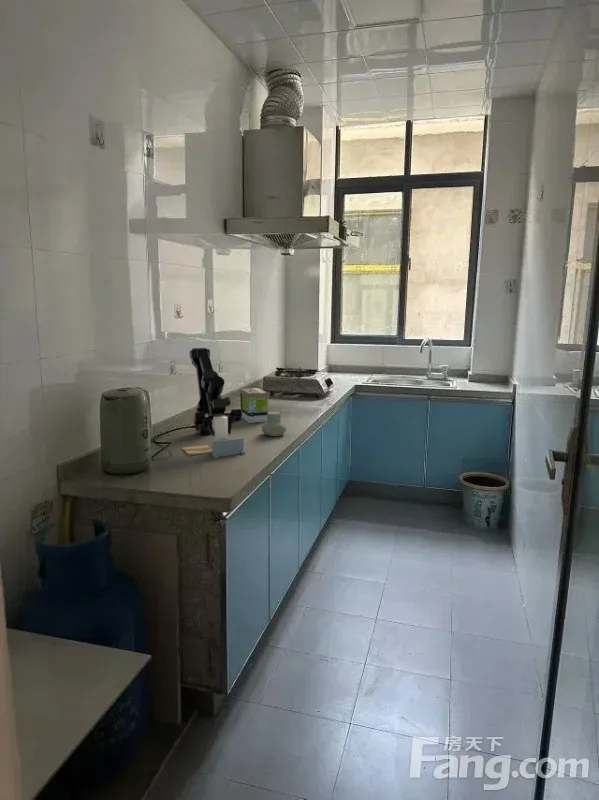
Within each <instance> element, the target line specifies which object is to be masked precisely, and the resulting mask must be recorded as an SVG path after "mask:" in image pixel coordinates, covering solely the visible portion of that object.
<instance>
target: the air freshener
mask: <svg viewBox="0 0 599 800" xmlns="http://www.w3.org/2000/svg"><path fill="white" fill-rule="evenodd" d="M281 414H282V413H281V412H280V411H268V413H267V422H263V424H262V425H261V431H262V433H263V434H264V435H266V436H269V437H272V436H277V437H279V436H282V435H284V434H285V433H286V432H287V425H286V424H285V423H284V422H282V420H281V419H282V418H281V416H282V415H281Z"/></svg>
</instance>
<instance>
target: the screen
mask: <svg viewBox="0 0 599 800" xmlns="http://www.w3.org/2000/svg"><path fill="white" fill-rule="evenodd" d="M212 450H213V453H211V456H212V457H213V458H214V457H215V458H214V459H218V458H219V457H218V456H220V457H225V456H226V457H229V456H233V455H234V454H235V455H246V451H245V449H244V438H243V437H238V438H230V439H229V438H228V440H220V441H214V440H212Z"/></svg>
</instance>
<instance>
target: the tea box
mask: <svg viewBox="0 0 599 800" xmlns="http://www.w3.org/2000/svg"><path fill="white" fill-rule="evenodd" d="M239 392H240V395H239V396H240V398H239V399H240V409H241V410H242V417H241V419H243V420H244V421H245V422H246V423H248V424H256V423H255V422H259V423H266V422H267V413H268V412H269V411H268V407H269V406H268V404H269V403H268V392H267V391H265V390H263V389H261V388H259V387H253V388H240V391H239Z"/></svg>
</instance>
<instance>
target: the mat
mask: <svg viewBox="0 0 599 800" xmlns="http://www.w3.org/2000/svg"><path fill="white" fill-rule="evenodd" d="M182 451H184V452H185V453H186V455H187V456H189V457H191V456H198V455H206V453H207V454H212V453H213V448H211V447H210V446H209V445H208V444H203V445H194V446H185V447H182Z"/></svg>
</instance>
